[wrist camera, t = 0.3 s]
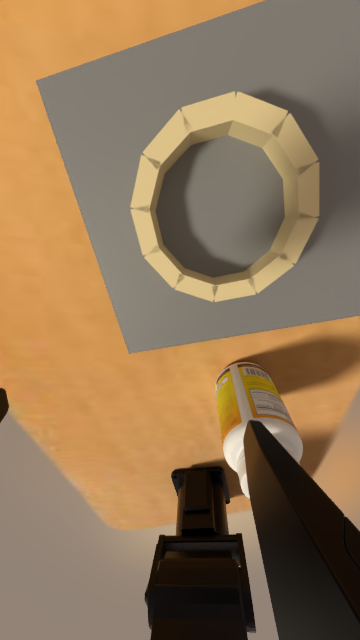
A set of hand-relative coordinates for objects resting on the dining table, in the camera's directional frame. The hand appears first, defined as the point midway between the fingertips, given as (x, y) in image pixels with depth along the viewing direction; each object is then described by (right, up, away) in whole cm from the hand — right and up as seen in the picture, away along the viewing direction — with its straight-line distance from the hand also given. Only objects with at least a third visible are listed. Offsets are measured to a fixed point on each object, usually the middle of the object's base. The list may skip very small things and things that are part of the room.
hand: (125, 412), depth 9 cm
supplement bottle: (+8, -3, +16) cm, 18 cm away
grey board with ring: (+5, +12, +10) cm, 16 cm away
